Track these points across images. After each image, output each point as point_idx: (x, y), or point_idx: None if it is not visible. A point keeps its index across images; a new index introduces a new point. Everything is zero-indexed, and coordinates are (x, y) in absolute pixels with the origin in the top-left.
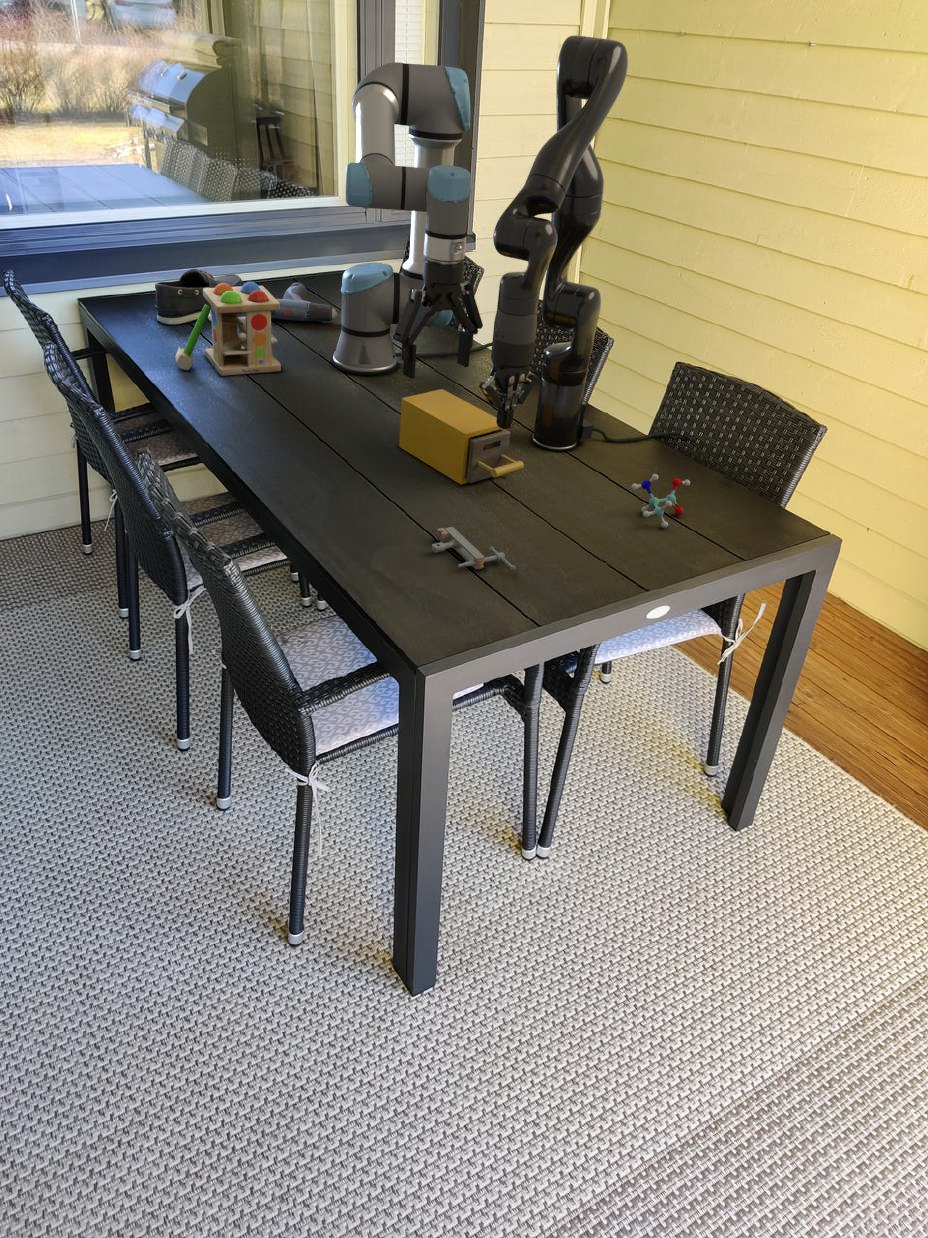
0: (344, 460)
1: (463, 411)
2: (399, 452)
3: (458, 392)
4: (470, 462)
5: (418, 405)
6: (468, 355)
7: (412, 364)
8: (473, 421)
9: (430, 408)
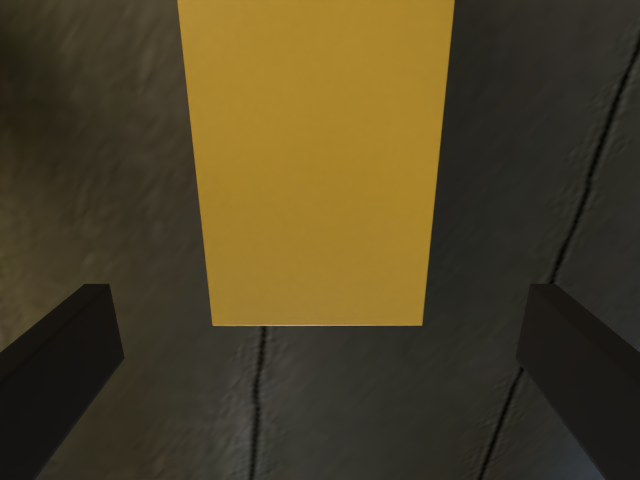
0: (563, 253)
1: (281, 81)
2: None
3: None
4: None
5: (417, 238)
6: (45, 325)
7: (617, 337)
8: None
9: (394, 188)
